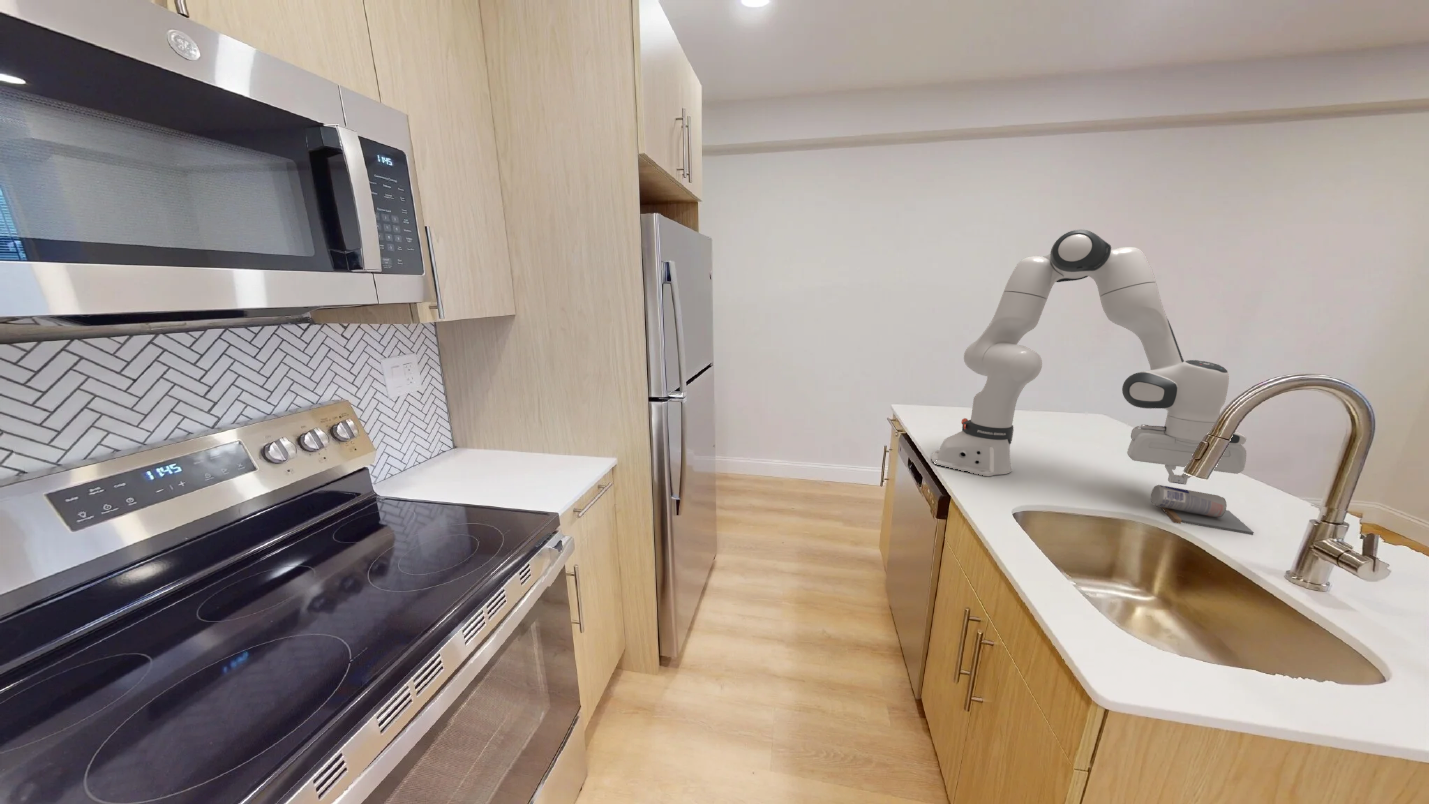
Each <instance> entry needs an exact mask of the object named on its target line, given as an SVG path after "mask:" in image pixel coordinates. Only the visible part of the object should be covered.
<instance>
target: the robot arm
mask: <svg viewBox="0 0 1429 804" xmlns="http://www.w3.org/2000/svg"><path fill="white" fill-rule="evenodd" d="M1050 249H1051V250H1050V253H1049V254H1048V255H1044V256H1039V255H1032V256H1028V257H1025V258H1023V259H1021V260H1019V262H1018V263H1017V264H1016V266H1015V268H1014V269H1013V271H1012V272H1011V274H1010V276H1009V278H1008V280H1007V283H1006V285H1005V287H1004V289H1003V293H1002V294H1001V295H1002V296H1001V298H1000V301H999V303H998V306H997V308H996V310H995V312H994V315H993V317H992V319H991V320H990V323H989V324H988V326H987V327H986V328H985V330H984V331H983V333H982V334H981V335H980V336H979V337H978V338H977V339H976V340H975V341H974V342H972V343H970V344H969V345H968V347H966V348H965V351H964V354H963V362H964V363H965V365H966V367H967V368H969V369H970V370H971V371H972V372H974V373H976V374H978V375H980V376H984V377H986V382H985V383H984V386H983V388H982V390H981V391H979V392H978V393H976V394H975V395H974V397H973V402H972V408H971V409H972V410H971V417H970V419H968V418H965V417H964V418H962V419H961V425H962V427H961V431H959V432H957V433H955V434H953V435H950V436H948V437H946V438H945V439H944V440H943V441H942V443H941V445H940V446H939V447H940V448H939V450H935V451H934V452H933V453H932V454H931V456H932V457H930V460H931V459H932V461H933V462H935V463H936V464H938V465H942V466H945V467H944V468H946V467H949V468H948V469H950V468H953V469H952V470H955V469H958V470H957V471H959V470H961V471H960V472H964V471H968V472H970V473H969V474H973V473H974V474H973V475H978V474H979V475H978V476H982V475H983V477H993V476H997V475H1006V474H1010V473H1011V472H1012V470H1013V469H1012V463H1011V455H1010V454H1011V444H1012V441H1013V437H1014V425H1013V422H1014V417H1015V416H1014V415H1015V411H1016V406H1017V402H1018V400H1019V397H1020V395H1021V393H1022V392H1023V389H1025V388H1026V385H1027V384H1029V383H1030V382H1032V381H1034V380H1035V379H1036V378H1037V377H1038V376H1039V375H1040V374H1041V371H1042V367H1043V360H1042V358H1041V355H1040V354H1039V353H1038V352H1037V351H1036V350H1033V349H1031V348H1029V347H1027V346H1025V345H1021V344H1018V343H1020V341H1021V340H1022V338H1023V337H1024V336H1025V335H1026V334H1028V332H1030V331H1033V330H1034V329H1035V328H1036V327H1037V326H1038V324H1039V321H1040V318H1041V315H1042V313H1043V311H1044V309H1045V305H1046V304H1047V301H1048V298H1049V295H1050V293H1051V291H1052V288H1053V286H1054V285H1055V283H1063V282H1073V281H1080V280H1084V279H1086V278H1088V277H1089V278H1091V279H1092V280H1093V281H1094V282H1095V284H1096V287H1097V291H1098V295H1099V300H1100V303H1101V307H1102V309H1103V311H1104V312H1103V313H1104V314H1105V316H1106V317H1107V319H1108V320H1109V321H1110V322H1112V323H1114V324H1115V325H1117V326H1120V327H1122V328H1125V329H1127V330H1128V331H1130V332H1131V333H1133V334H1135V336H1136V337H1137V338H1138V339H1139V341H1141V344H1142V347H1143V349H1144V352H1145V355H1146V358H1147V361H1148V364H1149V366H1150V369H1149V370H1142V371H1139V372H1136V373H1133V374H1131V375H1129V376H1128V377H1127V378H1126V379H1125V380H1124V381H1123V384H1122V387H1121V390H1122V391H1121V392H1122V396H1123V398H1124V400H1125V401H1126V402H1127V403H1129V404H1130V405H1131V406H1133V407H1137V408H1140V409H1149V410H1151V409H1164V410H1166V411H1167V413H1166V418H1165V422H1164V426H1160V425H1150V424H1140V425H1137V426H1135V427H1133V429H1132V430H1131V433H1130V438H1131V440H1130V443H1129V445H1128V448H1127V451H1126V454H1127V456H1128V457H1129V458H1130V459H1131V460H1132V461H1134V462H1140V463H1149V464H1157V465H1164V468H1165V470H1166V472H1167V473H1168V479H1167V481H1168V482H1169V483H1171V484H1177V485H1187V482H1188V479H1189V478H1191V477H1192V476H1188V475H1186V474H1184V473H1185V472H1183V473H1182V474H1181V475H1180V474H1175V473H1174V471H1176V470H1177V467H1181V468H1185V466H1186V465H1187V463H1188V462H1189V460H1190V459H1191V458H1192V454H1193V453H1194V451H1195V450H1196V447H1197V446H1198V445H1199V443H1200V442H1201V440H1202V439H1203V437H1204V436H1205V435H1206V434H1207V433H1208V432H1209V431H1210V429H1211V428H1212V425H1214V423H1215V421H1216V420H1217V418H1218V417H1219V415H1220V416H1221V410H1222V408H1223V406H1224V405H1225V404H1226V403H1225V402H1226V399H1227V397H1228V390H1229V384H1230V383H1229V382H1230V380H1229V379H1230V378H1229V377H1230V376H1229V371H1228V369H1226V368H1225V367H1224V366H1222V365H1220V364H1219V363H1213V362H1210V361H1204V360H1197V359H1189V360H1188V359H1187V360H1184V358H1183V356H1182V352H1181V349H1180V348H1179V344H1178V341H1177V339H1176V336H1175V333H1174V331H1173V328H1172V326H1171V325H1172V324H1171V323H1170V321H1169V319H1168V316H1167V313H1166V312H1165V311H1166V310H1165V308H1164V305H1163V302H1162V299H1161V295H1160V292H1159V288H1158V284H1157V280H1156V277H1155V275H1154V272H1153V269H1152V267H1151V264H1150V262H1149V261H1148V258H1147V257H1146V254H1145V253H1144V252H1143V251H1142V249H1140V248H1138V247H1134V246H1124V247H1118V248H1113V249H1112V246H1111V244H1110V243H1109V242H1107V241H1106V240H1104V239H1103V238H1102V237H1100V236H1099V235H1098V234H1096V233H1094V232H1092V231H1090V230H1087V229H1073V230H1070V231H1067V232H1066V233H1064V234H1062V235H1061V236H1059V238H1058V239H1057V240H1055V242H1054V243H1053V244H1052V247H1051V248H1050ZM1235 431H1236V432H1235V433H1234V434H1233V437H1232V438H1231V441H1230V443H1229V446H1228V447H1227V448H1226V451H1225V453H1224V455H1223V456H1222V458H1221V460H1219V463H1218V465H1217V467H1215V469H1214V471H1213V472H1219V473H1227V474H1234V475H1235V474H1236V475H1239V474H1240V473H1242V472H1243V471H1244V470H1245V467H1246V462H1247V450H1246V447H1245V446H1244V444H1245V443H1246V442H1247V437H1246V436H1245V435H1244V434H1242V433H1240V432H1239V431H1237V430H1235ZM936 460H937V461H936ZM932 461H931V462H932ZM968 472H967V473H968Z"/></svg>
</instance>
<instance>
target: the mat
mask: <svg viewBox="0 0 1429 804" xmlns="http://www.w3.org/2000/svg"><path fill="white" fill-rule="evenodd" d="M1172 510H1173V511H1174V512H1175V513H1176V514H1177V515H1178V516H1179V517H1180V519H1181V520H1182V521H1181V524H1182V523H1184V524H1190V525H1194V526H1199V527H1206V528H1212V529H1218V530H1223V531H1230V532H1236V533H1240V534H1247V535H1254V533H1255V532H1254V531H1253V530H1252V529H1251V528H1250V527H1248V525H1246V524H1245V523H1244V522H1243V521H1241V519H1239V518H1238V517H1237V516H1236V515H1235V514H1234V513H1233V512H1231V511H1230V510H1229V509H1226V511H1225V514H1224V515H1223V516H1222V517H1210V516H1205V515H1200V514H1195V513H1190V512H1184V511H1179V510H1174V509H1172Z"/></svg>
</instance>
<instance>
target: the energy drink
mask: <svg viewBox="0 0 1429 804" xmlns="http://www.w3.org/2000/svg"><path fill="white" fill-rule="evenodd" d="M1150 500H1151V503H1152V504H1151V505H1154V506H1156V507H1158V508H1159V507H1160V508H1161V507H1164V508H1169V509H1174V510H1179V511H1184V512H1190V513H1195V514H1200V515H1205V516H1210V517H1222V516H1223V515H1224V514H1225V511H1226V510H1227V501H1226V498H1225V497H1224V496H1220V495H1218V494H1212V493H1207V492H1201V491H1196V490H1191V489H1184V488H1179V487H1178V488H1177V487H1173V486H1168V485H1162V484H1156V485H1154V487H1153V488H1152V491H1151V493H1150Z"/></svg>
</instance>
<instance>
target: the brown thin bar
mask: <svg viewBox="0 0 1429 804" xmlns="http://www.w3.org/2000/svg"><path fill="white" fill-rule="evenodd" d="M1160 508H1161V509H1162V510H1163V511H1164V513H1165V514H1166V515H1167V516H1168V517H1169V519H1171V521H1172V522H1173V523H1174V524H1182V522H1181V521H1182V520H1181V519H1180V517H1179V516H1178V515H1177V514H1176V513H1175V512H1174V511H1173V510H1172V509H1169V508H1164V507H1160Z"/></svg>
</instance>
